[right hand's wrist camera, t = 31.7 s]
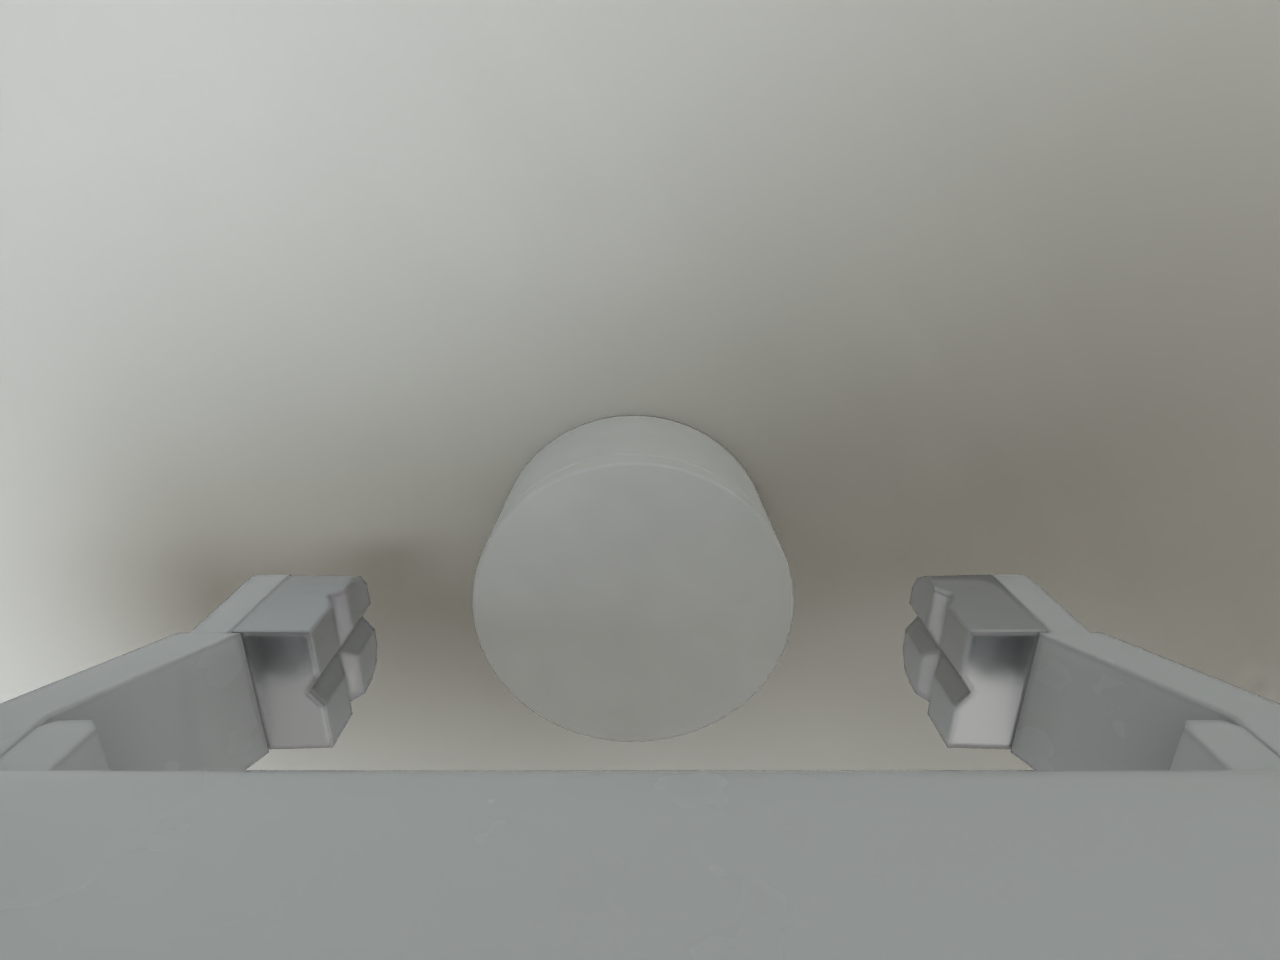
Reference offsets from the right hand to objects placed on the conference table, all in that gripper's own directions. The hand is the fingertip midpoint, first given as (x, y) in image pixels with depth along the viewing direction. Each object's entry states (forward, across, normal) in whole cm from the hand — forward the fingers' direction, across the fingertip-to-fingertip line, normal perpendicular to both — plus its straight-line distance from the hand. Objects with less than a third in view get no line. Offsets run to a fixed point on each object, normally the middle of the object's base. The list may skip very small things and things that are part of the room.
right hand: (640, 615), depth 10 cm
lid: (0, 0, 0) cm, 0 cm away
